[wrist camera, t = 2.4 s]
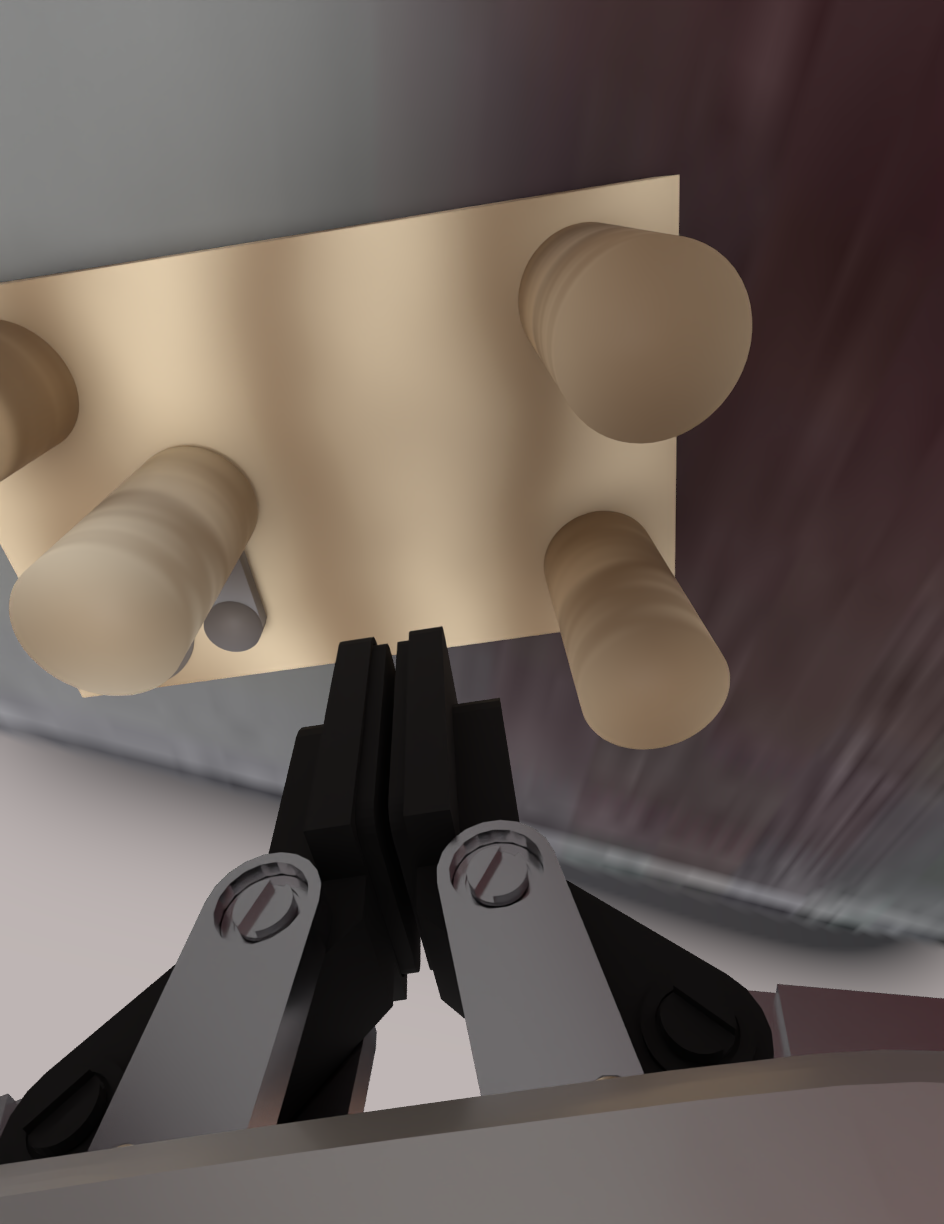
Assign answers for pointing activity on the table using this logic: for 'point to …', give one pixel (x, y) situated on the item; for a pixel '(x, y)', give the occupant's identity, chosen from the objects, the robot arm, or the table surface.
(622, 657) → the stool seat
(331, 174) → the table surface
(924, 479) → the table surface
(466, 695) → the table surface
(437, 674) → the robot arm
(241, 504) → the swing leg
